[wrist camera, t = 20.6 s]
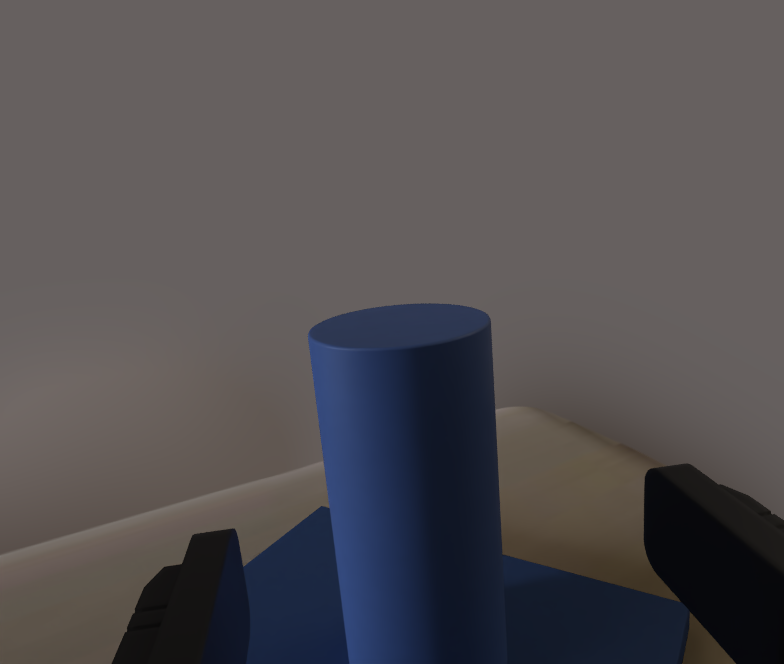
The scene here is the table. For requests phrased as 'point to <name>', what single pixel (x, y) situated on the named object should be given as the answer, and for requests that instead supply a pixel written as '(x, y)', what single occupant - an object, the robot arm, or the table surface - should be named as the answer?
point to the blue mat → (522, 610)
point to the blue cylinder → (413, 482)
